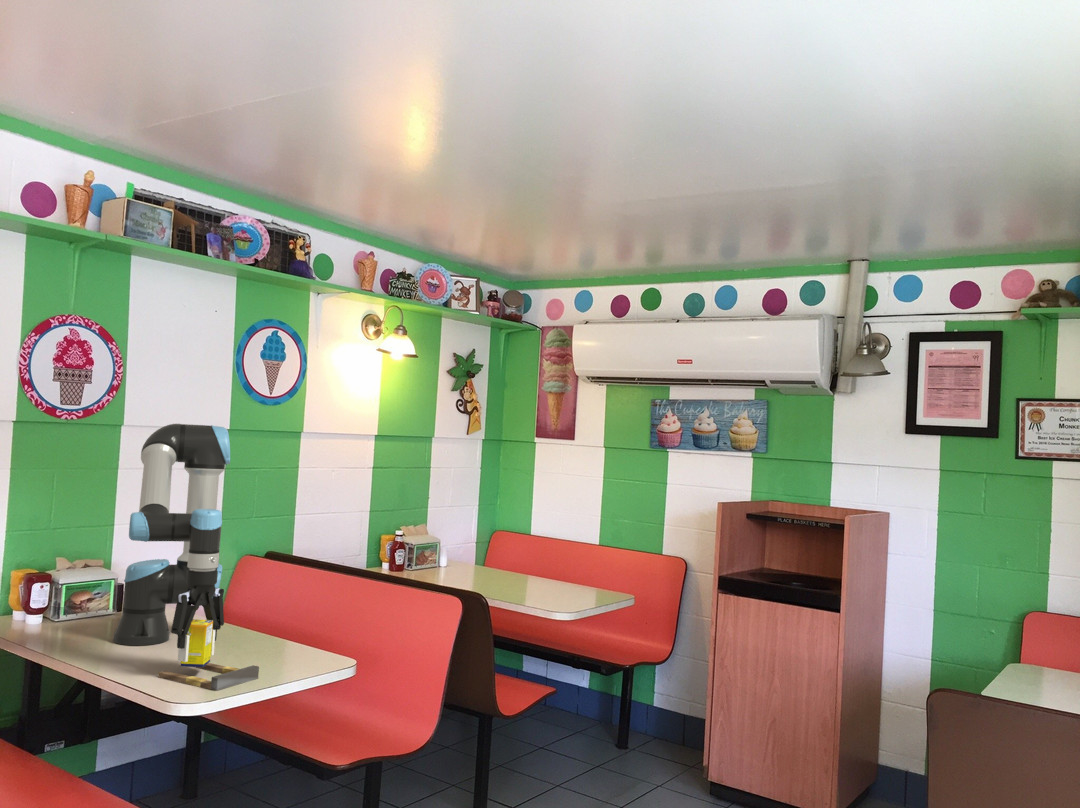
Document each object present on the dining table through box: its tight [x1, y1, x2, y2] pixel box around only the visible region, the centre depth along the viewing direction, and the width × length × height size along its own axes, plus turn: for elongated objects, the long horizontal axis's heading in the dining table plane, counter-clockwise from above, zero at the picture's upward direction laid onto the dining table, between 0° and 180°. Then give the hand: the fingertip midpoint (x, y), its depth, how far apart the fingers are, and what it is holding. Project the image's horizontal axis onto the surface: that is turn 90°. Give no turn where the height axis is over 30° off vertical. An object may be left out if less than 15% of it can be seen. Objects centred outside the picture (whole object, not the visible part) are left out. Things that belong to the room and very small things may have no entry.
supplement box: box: [180, 618, 213, 668], centre depth 221 cm, size 6×6×11 cm
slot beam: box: [158, 662, 260, 692], centre depth 219 cm, size 20×14×3 cm
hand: (195, 657), depth 221 cm, fingers closed on supplement box, 8 cm apart
